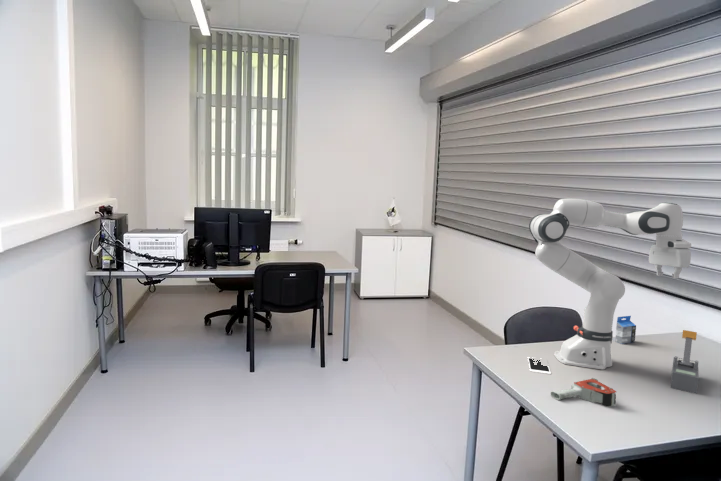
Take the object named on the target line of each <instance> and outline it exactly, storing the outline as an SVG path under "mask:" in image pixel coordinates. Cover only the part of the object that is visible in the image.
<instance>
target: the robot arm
mask: <svg viewBox="0 0 721 481" xmlns="http://www.w3.org/2000/svg"><path fill="white" fill-rule="evenodd" d="M683 215H684V214H683V208H682V207H681V205H679V204H677V203H673V202H660V203H659V204H658V205H656V206H654V207H653V208H650V209H647V210H641V211H639V210H638V211H637V210H636V211H635V210H634V211H629V212H625V213H624V212H623V213H621V212H615V211H610V210H606V209H605V207H604V206H603V205H602V203H599V202H596V201H593V200H589V199H583V198H560V199H558V200H557V201H556V202H555V204H554V206H553V209H552V211H551V213H548V214H545V213H540V214H537V215H534V216H533V218H531V219H530V221H529V224H528V228H529V229H528V230H529V233H530V235H531V236H532V238H533V240H534V241H535V242H536V243H538V244H537V246H536V248H535V253H534V254H535V257H536V259H537V260H538V261H539V262H541V264H543V265H544V266H546V267H547V268H548V269H550V270H551V271H553V272H554V273H556V274H559V275H560V276H561V277H562V278H565V279H566V280H568V281H569V282H572V283H573V284H575V285H577V286H578V287H580V288H581V289H583V290H586V291H587V292H589V293H590V297H589V300H588V303H587V305H586V306H585V308H584V309H583V318H582V319H583V321H582V325H581V327H580V326H578V325H574V326H573V330H574V331H576V334H575V335H574V336H572V337H569V338H567V339H566V340H564V341H563V342H562V343H561V346H560V350H555V351H554V353H553V354H554V355H555V356H554V358H555V359H557V361H559V362H560V363H561V364H564V365H569V366H575V367H580V368H581V367H583V368H589V369H597V370H606V368H610V367H612V366H613V359H612V348H611V347H612V346H611V345H612V342H613V333H614V331H613V322H614V316H615V312H616V308H617V306H618V304H619V302H620V301H619V300H620V299H622V298H623V297H624V295H625V293H626V286H625V284H624V282H623V281H622V279H621V278H620V277H618V276H617V275H615V274H613V273H611V272H608V271H607V270H605V269H603V268H601V267H599V266H598V265H596V264H594V263H593V262H591V261H590V260H588V259H587V258H585V257H583V256H581V255H580V254H578V253H576V252H575V251H573V250H572V249H570V248H568V247H566V246H565V245H563V244H562V243H561V240H562V239H563V238H564V237H565V235H566V233H567V230H568V229H569V227H570V226H576V227H583V228H597V227H599V226H605V227H610V228H611V227H612V228H617V229H621V230H622V231H624V232H625V233H627V234H629V235H631V236H632V235H634V236H636V235H654V234H656V236H655V242H653V244H651V247H650V249H649V254H648V263H649V264H650V265H654V268H655V271H656V276H658V277H663V276H664V271H662V267H663V266H665V267H672V268H673V271H674V272H673V273H672V277H671V278H672V279H680V274H681V273H682V271H683V270H682V269H683V268H684V269H685V268H687V269H688V268H689V267H690V266H691V257H692V254H691V252H692V251H691V250H690V249H691V248H692V243H691V242H689V241H687V240H685V239H684V238H683V233H682V229H683V225H684V224H683V223H684V216H683Z"/></svg>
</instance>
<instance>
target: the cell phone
mask: <svg viewBox="0 0 721 481" xmlns="http://www.w3.org/2000/svg"><path fill="white" fill-rule="evenodd" d="M527 358H528V359H527ZM527 358H526V359H527V363H528V362H529V364H528V368H530V369H529V371H530V372H531V371H532V372H531V373H537V372H539V373H538V374H544V373H547V374H546V375H552V372H551V369H550V366H548V367H547V366H543V365H541V362H539V361H540V360H539V361H538V360H537V361H538V363H537V365H534V363H533V362H535V361H533V360H534V359H533V360H532V358H533V357H532V358H530V356H527ZM537 361H536V362H537Z"/></svg>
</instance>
